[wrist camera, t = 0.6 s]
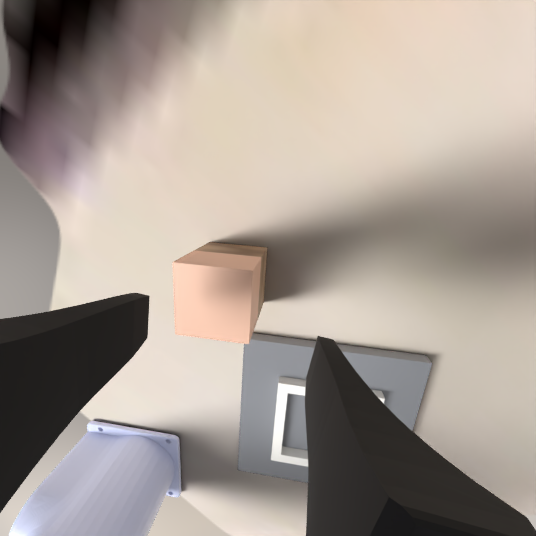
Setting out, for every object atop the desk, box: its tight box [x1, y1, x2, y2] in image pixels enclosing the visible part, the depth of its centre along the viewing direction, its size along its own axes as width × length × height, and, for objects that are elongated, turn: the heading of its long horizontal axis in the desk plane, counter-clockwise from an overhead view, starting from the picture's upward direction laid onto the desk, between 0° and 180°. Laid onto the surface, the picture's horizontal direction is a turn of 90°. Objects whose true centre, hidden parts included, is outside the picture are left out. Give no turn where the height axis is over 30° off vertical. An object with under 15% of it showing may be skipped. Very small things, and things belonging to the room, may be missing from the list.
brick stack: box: [173, 242, 267, 344], centre depth 17 cm, size 4×4×6 cm
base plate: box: [238, 333, 432, 483], centre depth 22 cm, size 14×14×2 cm
